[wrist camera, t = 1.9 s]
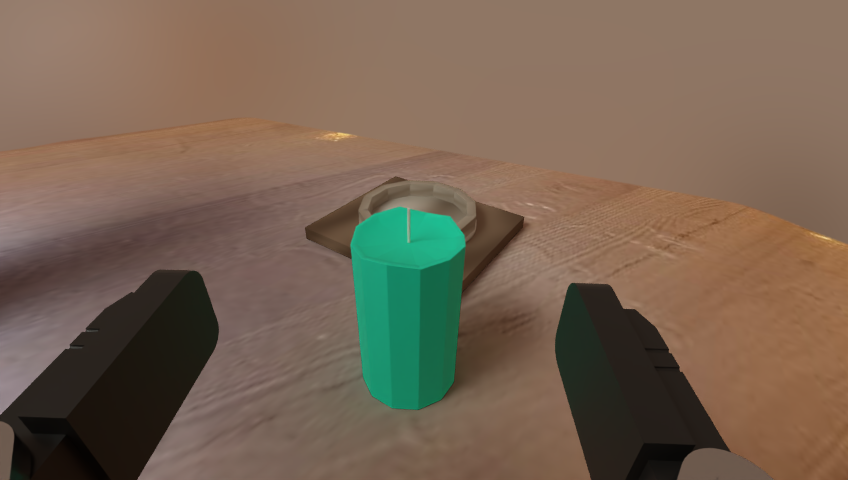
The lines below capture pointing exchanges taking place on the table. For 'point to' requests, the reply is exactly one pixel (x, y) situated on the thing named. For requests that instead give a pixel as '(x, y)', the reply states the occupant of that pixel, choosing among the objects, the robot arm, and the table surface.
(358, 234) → the candle
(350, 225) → the holder
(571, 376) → the robot arm
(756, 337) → the table surface
